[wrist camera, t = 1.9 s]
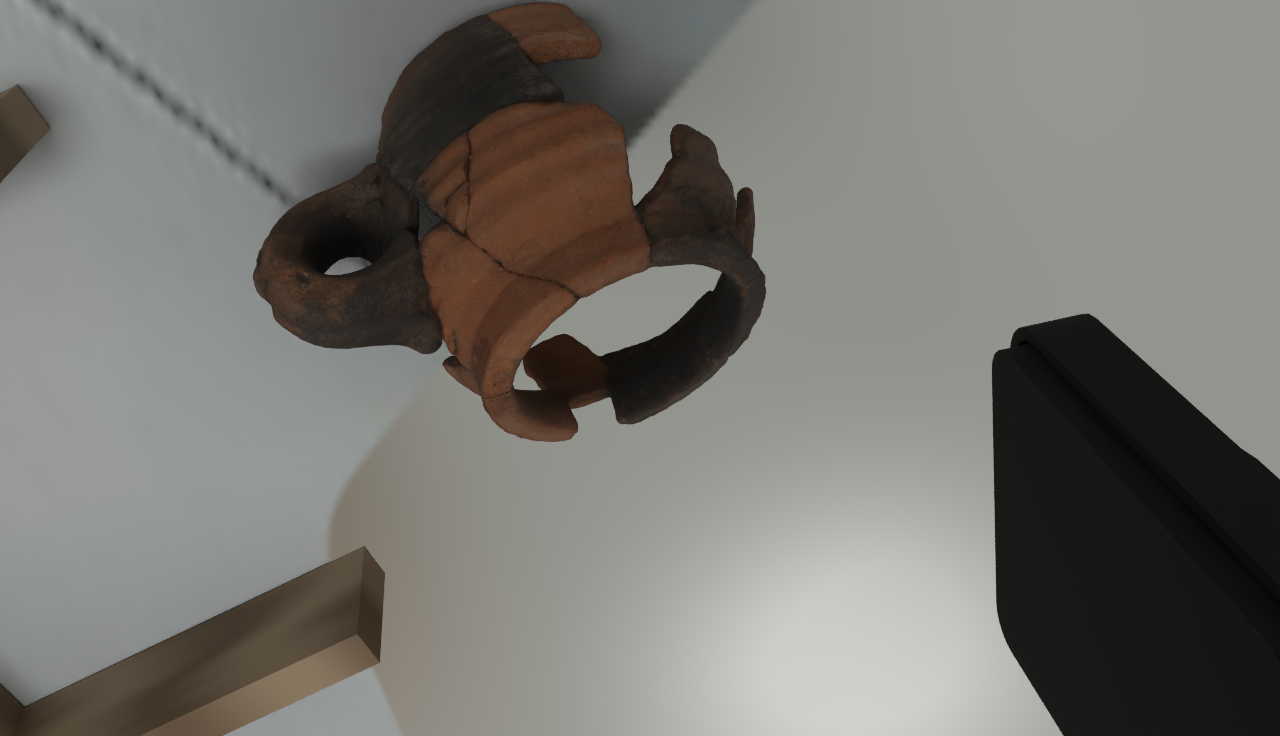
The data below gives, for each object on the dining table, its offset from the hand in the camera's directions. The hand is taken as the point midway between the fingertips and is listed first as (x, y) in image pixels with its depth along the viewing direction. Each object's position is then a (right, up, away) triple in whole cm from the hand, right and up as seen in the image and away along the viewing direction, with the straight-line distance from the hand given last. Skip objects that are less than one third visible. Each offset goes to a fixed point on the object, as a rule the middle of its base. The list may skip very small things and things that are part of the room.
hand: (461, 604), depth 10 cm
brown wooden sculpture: (-2, +7, +22) cm, 23 cm away
